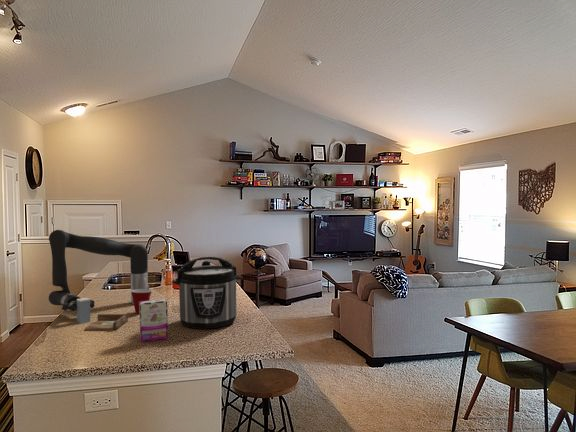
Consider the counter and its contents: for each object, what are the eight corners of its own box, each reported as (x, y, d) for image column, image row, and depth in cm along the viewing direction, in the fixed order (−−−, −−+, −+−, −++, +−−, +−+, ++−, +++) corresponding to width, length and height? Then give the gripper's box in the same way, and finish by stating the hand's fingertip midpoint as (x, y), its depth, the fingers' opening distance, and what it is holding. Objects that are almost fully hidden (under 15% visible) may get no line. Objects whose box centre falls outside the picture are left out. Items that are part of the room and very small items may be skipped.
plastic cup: (157, 311, 229) (156, 288, 228) (142, 316, 219) (141, 292, 219) (141, 309, 233) (141, 287, 233) (126, 313, 224) (125, 290, 223)
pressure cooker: (163, 328, 198) (163, 259, 197) (194, 313, 225) (194, 252, 224) (222, 334, 189) (222, 262, 188) (247, 317, 216) (247, 254, 215)
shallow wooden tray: (98, 321, 209) (98, 314, 209) (127, 321, 210) (127, 314, 209) (84, 330, 194) (84, 322, 194) (116, 330, 195) (115, 322, 194)
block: (86, 319, 212) (86, 297, 212) (90, 321, 209) (90, 299, 208) (76, 321, 209) (76, 299, 208) (80, 323, 205) (80, 300, 205)
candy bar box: (166, 336, 187) (166, 298, 186) (168, 339, 182) (167, 300, 181) (139, 339, 182) (138, 300, 182) (140, 342, 178) (139, 303, 177)
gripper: (56, 296, 214) (67, 302, 203) (85, 292, 224) (98, 297, 213) (56, 311, 214) (68, 317, 203) (85, 306, 225) (98, 312, 213)
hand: (83, 307), depth 208 cm, fingers open, 8 cm apart
